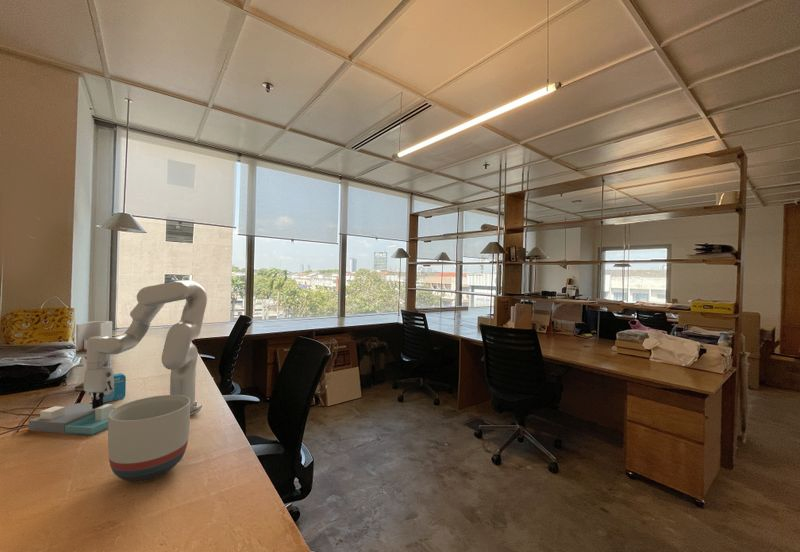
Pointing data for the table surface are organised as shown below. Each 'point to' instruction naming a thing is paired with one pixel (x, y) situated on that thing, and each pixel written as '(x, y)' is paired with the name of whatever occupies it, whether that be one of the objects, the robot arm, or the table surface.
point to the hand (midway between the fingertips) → (97, 407)
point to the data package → (117, 388)
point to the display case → (88, 331)
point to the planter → (148, 436)
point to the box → (87, 426)
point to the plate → (62, 419)
